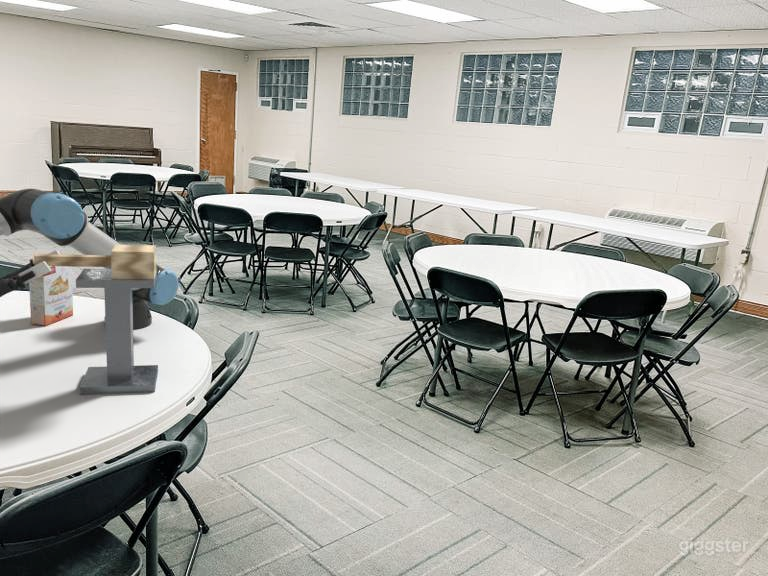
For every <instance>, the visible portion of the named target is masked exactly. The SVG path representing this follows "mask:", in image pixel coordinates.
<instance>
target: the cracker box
mask: <svg viewBox="0 0 768 576" xmlns="http://www.w3.org/2000/svg"><path fill="white" fill-rule="evenodd" d="M29 263H30V262H28V263H27V264H29ZM30 267H31V266H30ZM31 268H32V267H31ZM49 268H50V269H51V271H50V272H48V273H46V274H44V275H42V276H40V277H38V278H36V279H34V280H32V281H30V282H28V285H29V288H28V289H29V305H30V306H29V307H30V324H31V325H38V326H43V327H46V326H48V325H52V324H54V323H57V322H59V321H61V320H65V319H67V318H69V317H73V316H74V304H73V300H74V299H73V298H74V297H73V267H71V266H49Z"/></svg>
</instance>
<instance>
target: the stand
mask: <svg viewBox="0 0 768 576" xmlns="http://www.w3.org/2000/svg"><path fill="white" fill-rule="evenodd" d="M156 278H157V270H156V274H155V278H154V279H112V269H105V268H84V269H83V270H82V271H81V272H80V273H79V274H78V276H77V277H76V279H75V288H76V289H82V288H83V289H104V314H105V316H104V318H105V321H104V325H105V324H106V326H105V348H106V351H105V352H106V354H105V355H106V366H89V367H88V368H87V369H86V372H85V374H84V376H83V379H82V381H81V384H80V385H79V395H80V396H83V395H106V394H107V395H108V394H112V395H113V394H133V393H138V394H139V393H154V392H156V386H157V380H158V375H159V374H158V373H159V365H158V364H153V365H152V364H151V365H150V364H149V365H148V364H147V365H135V362H134V361H135V357H134V356H135V355H134V329H133V301H132V288H154V286H155V282H156Z"/></svg>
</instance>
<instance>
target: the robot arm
mask: <svg viewBox="0 0 768 576" xmlns="http://www.w3.org/2000/svg"><path fill="white" fill-rule="evenodd" d="M21 231H30V232H34V233H38V234H40V235H42V236H43V237H45V238H46V239H48V240H50V241H51V242H53V243H55V244H56V245H58V246H60V247H67V246H69V247H71V248H72V249H74V250H76V252H78V253H80V254H81V255H111V251H112V249H113V248H114V246H115V244H118V245H122V244H120V243H119V242H118V241H117V240H115V239H113V238H112V237H110V236H109V234H106V232H104V231H102V230H101V229H99V228H98V227H96V226H95V224H92V223H91V222H89V217H88V214H87V213H86V212H85V211H83V208H82V207H81V205H80V203H78V201H76V200H75V199H74V198H72V197H70V196H68V195H66V194H63V193H59V192H49V191H47V190H46V191H45V190H41V189H36V188H23V189H20V190H17V191H14V192H12V193H9V194H7V195H4V196H3V197H0V237H1V236H5V237H9V236H10V235H12V234H15V233H17V232H21ZM48 254H61V253H60V252H59V250H58V249H55V250H53V251H51V252H49V253H48ZM28 261H29V262H28V263H29V264H28V263H27V264H26V265H23V266H21V267H20V268H18V269H16V270H14V271H13V272H11V273H7V274H5V275H3V276H1V277H0V298H1V297H3V296H5V295H6V294H9V293H11V292H14V291H17V290H19V289H21V290H24V289H25V288H27V286H26V285H27V284H29V282H30V281H32V280H34V279H36V278H38V277H40V276H42V275H44V274H46V273H48V272H50V271H51V269H50V268H49V266H48V265H47V264H46V262H45V261H43V262H41V263H39V264H37V265H35V266H34V258H31V259H29V260H28ZM30 266H31V267H32V268H31V267H30ZM102 269H112V267H102ZM156 270H157V278H156V282H155V286H154V288H132V301H133V330H137V329H138V330H139V329H143V328H145V327H149V326H150V325H151V324H152V323H153V320H152V319H153V317H152V316H153V315H152V313H151V310H150V308H149V305H148V303H151V304H153V305H158V306H163V305H165V306H166V305H167V304H168V303H171V302H172V301H173V299H174V298H175V297H176V295H177V293H178V290H179V286H180V284H179V278H178V276H177V274H176V273H175V272H174V271H172V270H171V269H167V268H163V267H162V266H160V265H158V264H157V263H156ZM104 322H105V317H104ZM104 326H105V327H106V324H105V323H104Z"/></svg>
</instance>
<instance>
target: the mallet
mask: <svg viewBox="0 0 768 576" xmlns="http://www.w3.org/2000/svg"><path fill="white" fill-rule="evenodd" d="M33 261H34V266H35V265H37V264H39V263H41V262H43V261H45V262H46V264H47V265H48V266H71V267H72V268H73V267H76V268H77V267H79V268H80V267H85V268H88V267H89V268H95V267H96V268H103V267H112V279H154V278H155V274H156V264H157V245H155V244H154V245H153V244H152V245H151V244H150V245H148V244H121V245H118V244H115V246H114V248H113V249H112V251H111V255H83V254H65V253H64V254H61V253H60V254H49V253H35V255H33Z"/></svg>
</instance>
